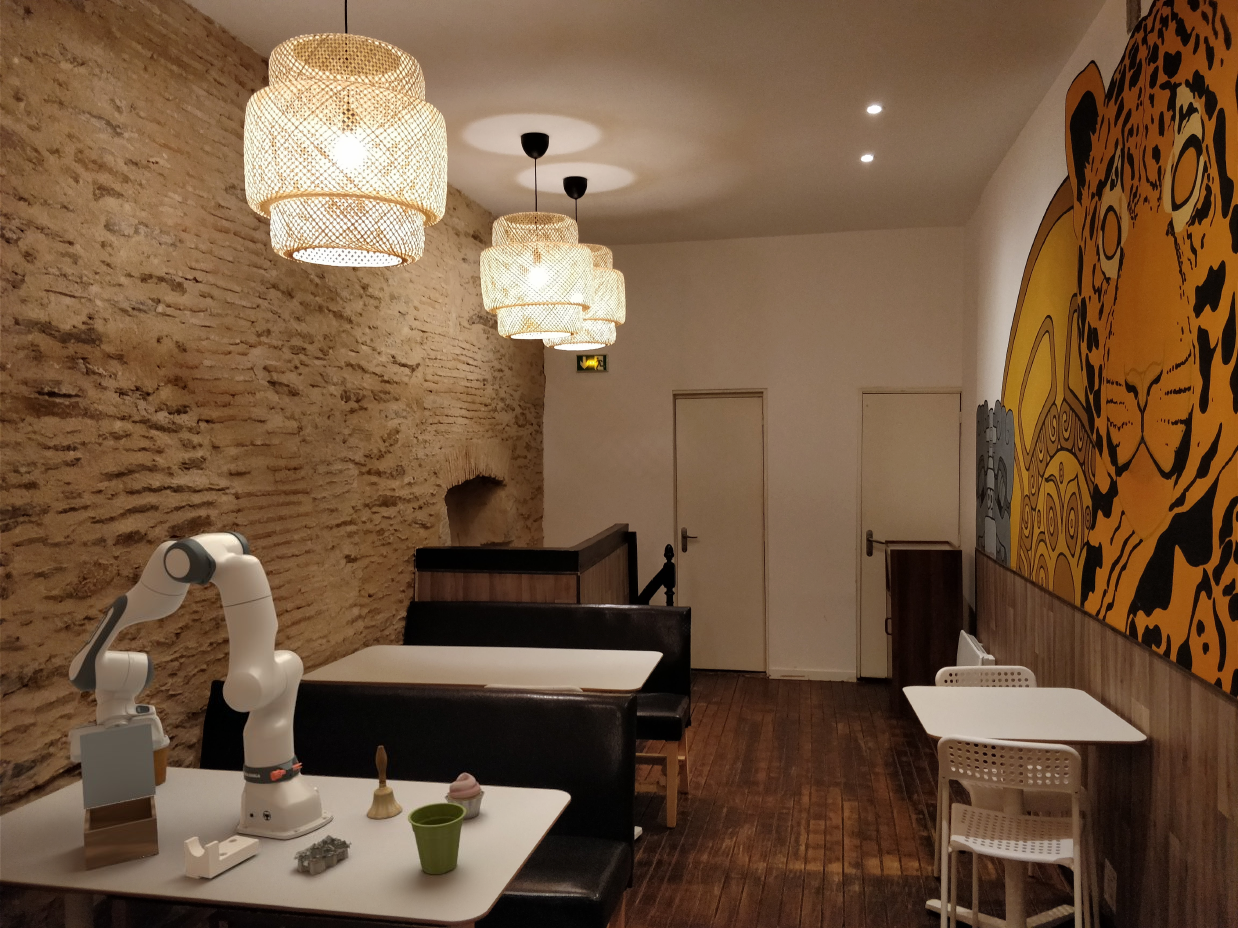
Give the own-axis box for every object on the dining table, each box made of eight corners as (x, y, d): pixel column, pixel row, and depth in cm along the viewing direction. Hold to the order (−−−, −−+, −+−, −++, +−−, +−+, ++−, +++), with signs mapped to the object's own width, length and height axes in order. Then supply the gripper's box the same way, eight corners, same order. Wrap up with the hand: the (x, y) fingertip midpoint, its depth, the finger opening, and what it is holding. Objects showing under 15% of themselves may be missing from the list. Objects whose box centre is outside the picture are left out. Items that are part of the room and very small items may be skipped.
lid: (83, 808, 211) (84, 808, 212) (155, 794, 218) (155, 793, 219) (79, 735, 213) (79, 734, 214) (151, 723, 220) (151, 722, 221)
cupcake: (459, 825, 211) (457, 782, 211) (438, 814, 218) (436, 773, 218) (493, 813, 217) (491, 771, 217) (472, 803, 224) (470, 762, 224)
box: (88, 843, 211) (85, 808, 211) (156, 828, 218) (154, 795, 218) (86, 870, 197) (83, 833, 197) (158, 853, 204) (156, 817, 204)
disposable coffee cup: (179, 779, 251) (176, 736, 250) (145, 791, 243) (142, 746, 242) (159, 774, 256) (156, 731, 256) (125, 786, 248) (122, 741, 247)
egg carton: (316, 877, 189) (315, 857, 189) (291, 870, 193) (289, 851, 193) (355, 855, 198) (353, 837, 198) (330, 849, 202) (329, 831, 202)
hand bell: (359, 814, 220) (355, 748, 220) (387, 802, 227) (383, 738, 227) (381, 821, 215) (377, 754, 215) (409, 809, 222) (405, 744, 222)
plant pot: (417, 886, 183) (413, 830, 182) (405, 862, 194) (402, 809, 193) (475, 872, 187) (472, 817, 187) (461, 849, 198) (458, 797, 198)
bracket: (210, 882, 189) (208, 846, 189) (186, 877, 192) (184, 841, 192) (259, 855, 201) (257, 821, 201) (236, 850, 204) (234, 817, 204)
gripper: (67, 720, 223) (68, 771, 214) (161, 704, 233) (165, 753, 224) (69, 733, 227) (70, 784, 218) (161, 717, 237) (165, 766, 228)
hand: (119, 768), depth 221 cm, fingers closed
